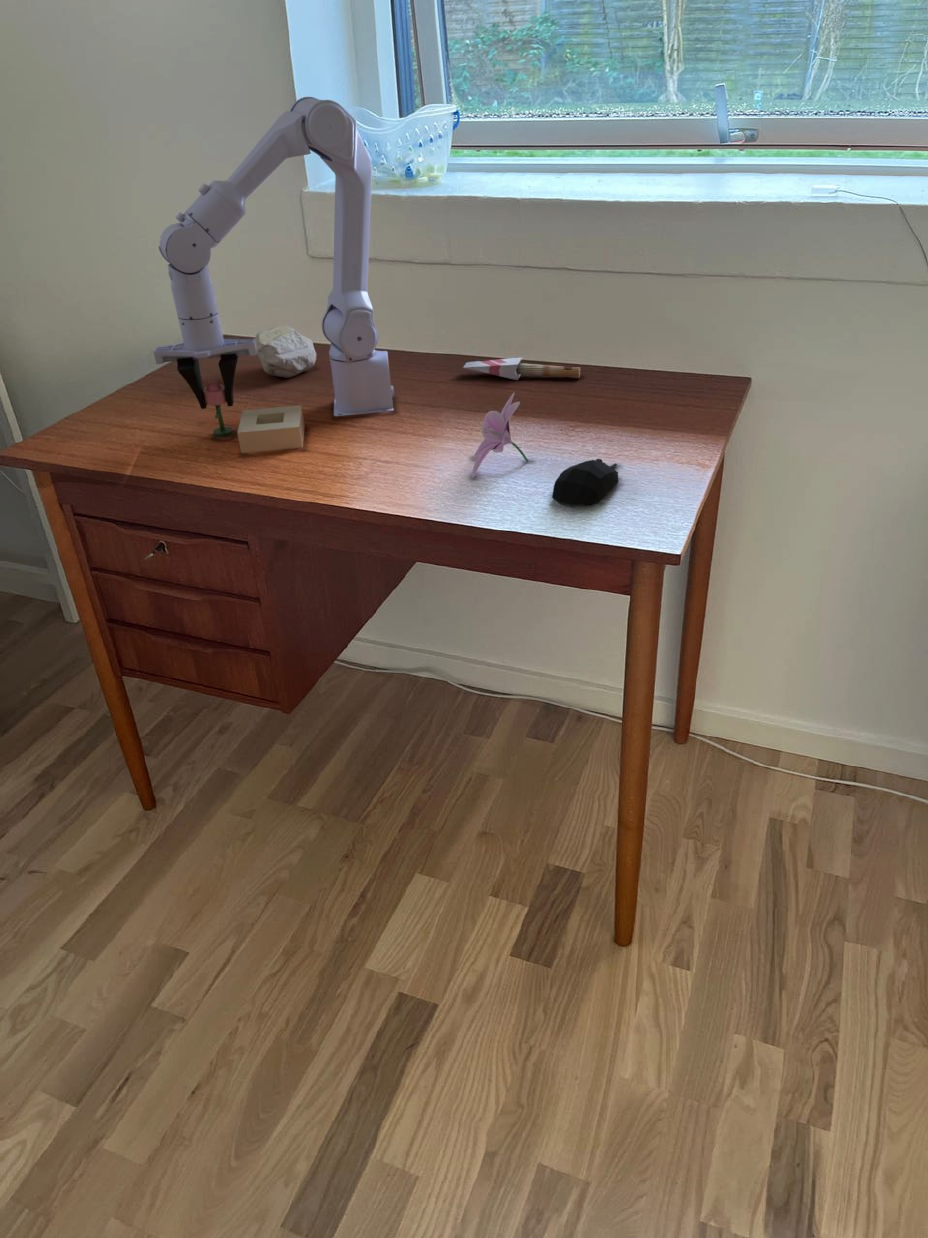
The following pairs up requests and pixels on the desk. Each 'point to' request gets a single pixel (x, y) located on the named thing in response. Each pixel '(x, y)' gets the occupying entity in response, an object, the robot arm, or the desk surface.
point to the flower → (217, 406)
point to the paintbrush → (521, 368)
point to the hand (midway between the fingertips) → (217, 405)
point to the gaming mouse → (585, 483)
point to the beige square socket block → (271, 429)
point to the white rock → (284, 351)
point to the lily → (496, 433)
